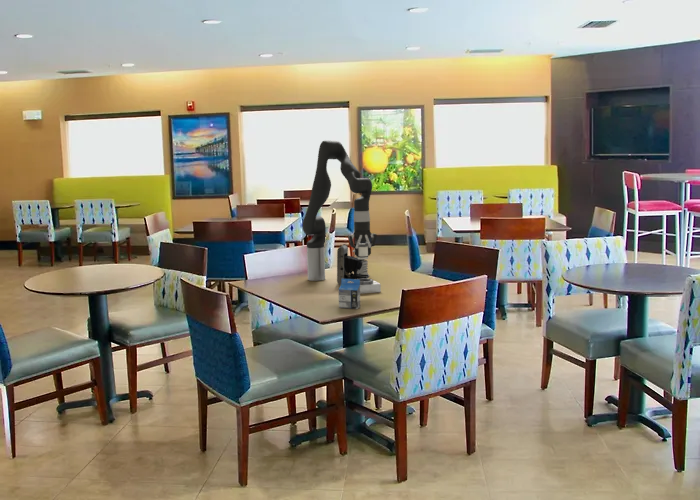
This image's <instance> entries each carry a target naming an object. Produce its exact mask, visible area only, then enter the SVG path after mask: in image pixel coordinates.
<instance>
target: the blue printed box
mask: <svg viewBox="0 0 700 500" xmlns="http://www.w3.org/2000/svg"><path fill="white" fill-rule="evenodd" d="M348 282H354V283H348ZM338 308H340V309H352V310H353V309H354V310H359V309H360V308H361V294H360V279H341V285H339V288H338Z"/></svg>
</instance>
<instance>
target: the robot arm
mask: <svg viewBox="0 0 700 500" xmlns="http://www.w3.org/2000/svg"><path fill="white" fill-rule="evenodd" d="M328 160H337V161H338V162H340V172H341V174H342V176H343V177H344V178H345V179H346V181H347V183H348V186H349V187H348V188H349V189H350V191H351V192H352V193H353V194H361V195H360V197H357V198H356V199H354V200H353V207H354V208H353V210H354V212H353V226H354V227H353V229H354V230H353V233H352V234H348V235H347V238H348V242H349V245H350V248H353V250H355V252H354V254H355V255H354V256H356V257H357V256H359V255H358V246H359V244H361V243H362V242H364V243H366V244H368V257H369V256H371V254H372V247H374V246H376V245H375V244H376V239H377V233H372V232H371V215H370V201H371V200H370V199H371V195H372V190H373V182H372V180H371V179H370V178H369V177H361V172H360V171H359V170H358V169H357V167H356V166H355V165H354V163H353V162H352V160H351V159H350V157H349V155H348V153H347V151H346V149H345V147H344V146H343V144H342V143H341V142H340V141H339V140H323V141H321V142H320V145H319V148H318V155H317V162H316V169H315V174H314V180H313V183H312V187H311V193H310V198H309V202H308V205H307V209H306V211H305V215H304V217H303V222H302V230H303V233H304V234H305V235H306V236H312V235H313V236H312V237H311V239H310V240H308V241H307V242H306V262H307V265H306V266H307V280H308V281H313V282H314V281H316V282H317V281H324V280H326V260H325V259H326V257H325V242H326V231H327V230H326V221H325V219H324V218H323V216H319V215H318V214H319V211H320V209H321V208H322V207H323V205H324V204H325V203H326V202H327V200H328V198H329V196H330V193H331V188H332V181H331V178H330V175H329V173H328V169H327V166H328ZM370 237H371V241H370ZM354 238H355V242H354V241H353V240H354Z"/></svg>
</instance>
